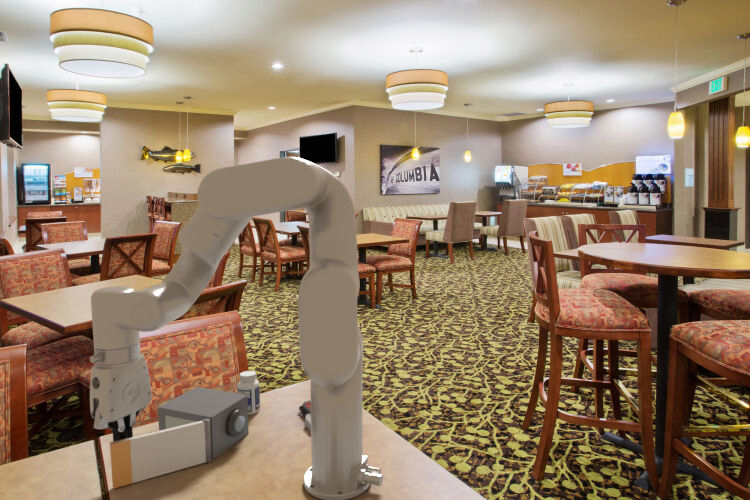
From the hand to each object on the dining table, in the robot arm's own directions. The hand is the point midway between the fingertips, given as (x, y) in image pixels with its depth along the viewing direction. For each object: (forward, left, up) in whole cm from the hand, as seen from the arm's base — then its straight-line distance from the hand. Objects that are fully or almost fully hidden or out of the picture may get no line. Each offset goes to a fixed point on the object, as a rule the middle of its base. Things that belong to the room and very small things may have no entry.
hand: (123, 447), depth 92 cm
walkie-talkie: (-25, -33, -7) cm, 42 cm away
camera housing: (-4, -17, -6) cm, 19 cm away
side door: (-6, -4, -6) cm, 9 cm away
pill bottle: (-4, -33, -6) cm, 34 cm away
